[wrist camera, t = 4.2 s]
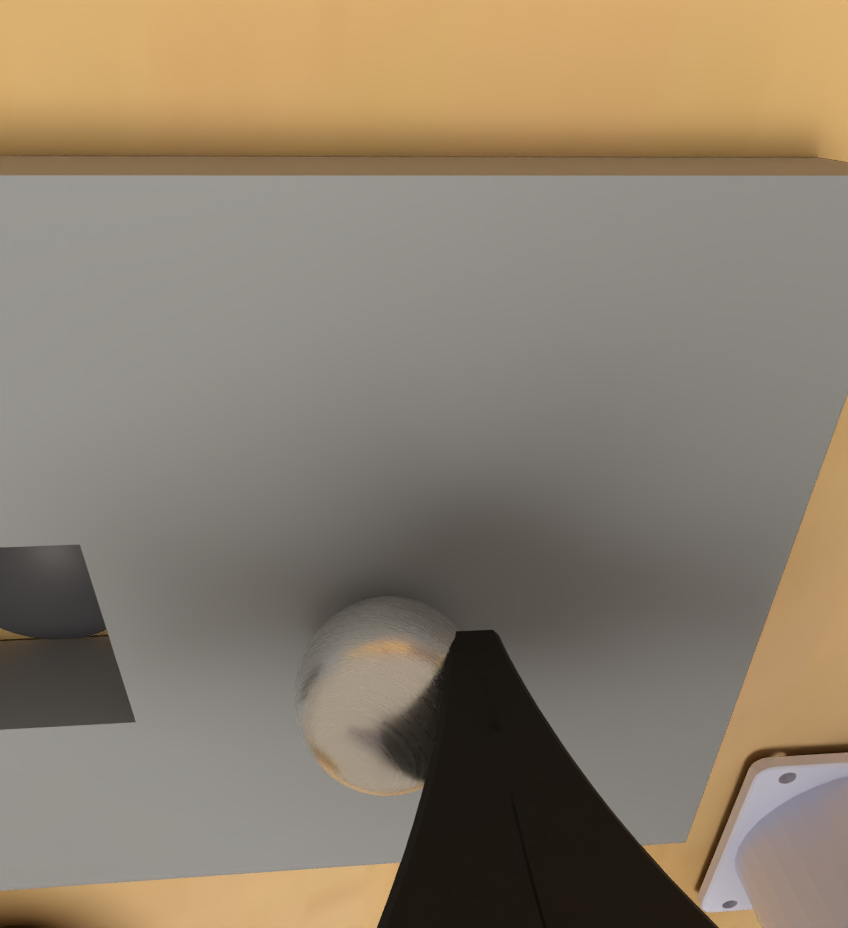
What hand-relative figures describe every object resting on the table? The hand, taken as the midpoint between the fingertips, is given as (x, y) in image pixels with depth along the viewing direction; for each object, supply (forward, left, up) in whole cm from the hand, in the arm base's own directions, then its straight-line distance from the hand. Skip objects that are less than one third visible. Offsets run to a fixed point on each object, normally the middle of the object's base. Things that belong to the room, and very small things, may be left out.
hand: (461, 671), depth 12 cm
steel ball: (+1, 0, 0) cm, 1 cm away
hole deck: (+4, 0, -4) cm, 5 cm away
